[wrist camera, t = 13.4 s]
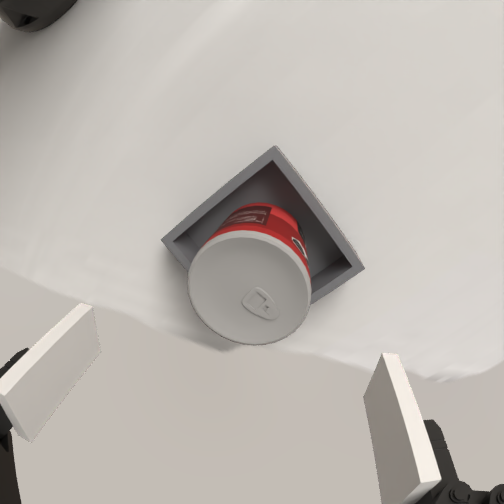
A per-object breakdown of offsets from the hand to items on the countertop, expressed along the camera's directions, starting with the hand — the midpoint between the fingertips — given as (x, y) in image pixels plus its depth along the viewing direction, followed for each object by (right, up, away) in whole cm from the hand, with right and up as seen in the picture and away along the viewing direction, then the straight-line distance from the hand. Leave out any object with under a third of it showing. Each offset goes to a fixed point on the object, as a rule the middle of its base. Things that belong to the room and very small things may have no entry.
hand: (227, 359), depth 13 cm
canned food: (+2, +6, +17) cm, 18 cm away
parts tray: (+2, +6, +17) cm, 18 cm away
